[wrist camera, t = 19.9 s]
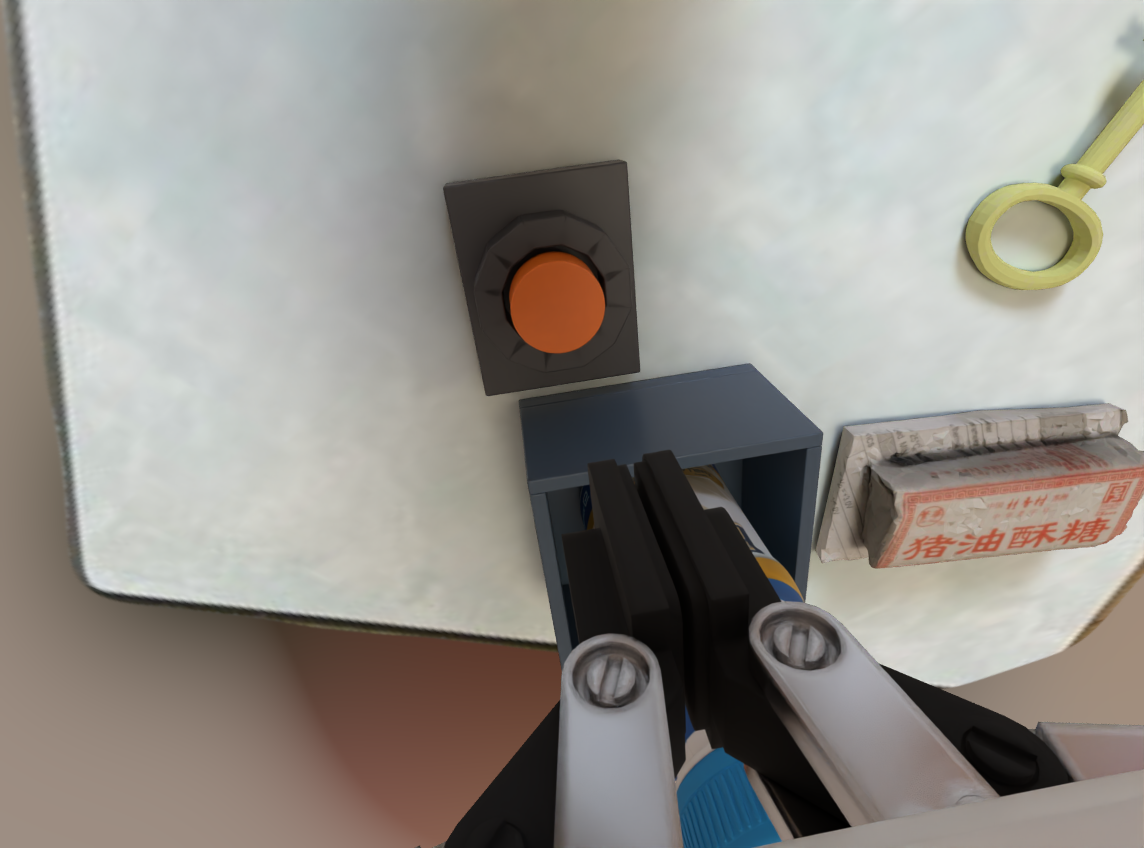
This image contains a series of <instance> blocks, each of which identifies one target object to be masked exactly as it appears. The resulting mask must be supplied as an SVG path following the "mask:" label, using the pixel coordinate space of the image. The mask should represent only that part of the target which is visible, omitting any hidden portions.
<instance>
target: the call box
mask: <svg viewBox="0 0 1144 848" xmlns="http://www.w3.org/2000/svg"><path fill="white" fill-rule="evenodd" d="M443 190H444V195H445V200H446V205H447V210H448V214H449V219H450V224H451V229H452V234H453V239H454V243H455V248H456V253H457V258H458V263H459V268H460V272H461V277H462V282H463V287H464V292H465V296H466V301H467V306H468V311H469V316H470V321H471V325H472V330H473V335H474V340H475V345H476V350H477V354H478V359H479V364H480V369H481V374H482V379H483V383H484V388H485V393H486V396H492V395H499V394H505V393H511V392H518V391H524V390H530V389H537V388H543V387H549V386H556V385H562V384H568V383H575V382H581V381H587V380H594V379H600V378H606V377H613V376H619V375H625V374H632V373H638V372H640V360H639V344H638V328H637V312H636V297H635V281H634V265H633V249H632V234H631V218H630V202H629V186H628V171H627V162H625V161H622V160H614V161H607V162H599V163H592V164H585V165H577V166H570V167H563V168H555V169H548V170H541V171H534V172H526V173H519V174H512V175H504V176H497V177H490V178H483V179H475V180H468V181H461V182H453V183H447V184H445V186H444V187H443ZM552 251H557V252H564V253H568V254H571V255H573V256H575V257H577V258H579V259H580V260H582V261H583V262H584V263H585V264H586V265H587V266H588V267H589V269H590V270H591V272H592V273H593V275H594V276H595V278H596V279H597V281H598V282H599V284H600V286H601V288H602V291H603V294H604V299H605V314H604V318H603V321H602V324H601V326H600V328H599V330H598V331H597V333H596V334H595V335H594V337H593V338H592V339H591V340H590V341H589V342H587V343H586V344H585V345H583V346H582V347H580V348H578V349H576V350H573V351H570V352H566V353H547V352H543V351H540V350H538V349H535V348H534V347H532V346H530V345H529V344H528V343H526V342H525V341H524V340H523V339H522V338H521V336H520V335H519V334H518V332H517V330H516V329H515V327H514V324H513V321H512V317H511V310H510V300H509V292H510V286H511V283H512V280H513V278H514V275H515V274H516V272H517V271H518V269H519V268H520V267H521V266H522V265H523V264H524V263H525V262H526V261H527V260H529V259H530V258H532V257H534V256H536V255H538V254H541V253H545V252H552Z"/></svg>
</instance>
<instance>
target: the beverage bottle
mask: <svg viewBox="0 0 1144 848" xmlns="http://www.w3.org/2000/svg"><path fill="white" fill-rule="evenodd" d="M682 470H683V472H684V474H685V476H686V478H687V480H688V481H689V483H690V485H691V487H692V489H693V491H694V492H695V494H696V496H697V498H698V500H699V502H700V503H701V505H702V507H703V509H704V510H705V509H711V508H717V507H723V508H725V509H726V511H727V512H728V513H729V515H730V516H731V518H732V520H733V521H734V523H735V525H736V526H737V528H738V530H739V531H740V533H741V535H742V536H743V538H744V540H745V541H746V543H747V545H748V546H749V548H750V550H751V551H752V553H753V555H754V556H755V558H756V560H757V561H758V563H759V565H760V566H761V568H762V570H763V571H764V573H765V575H766V576H767V578H768V580H769V581H770V583H771V585H772V586H773V588H774V590H775V591H776V593H777V595H778V596H779V598H780V600H781V601H782V602H784V601H792V602H802V603H804V600H803V597H802V595H801V593H800V591H799V589H798V587H797V585H796V583H795V582H794V580H793V579H792V577H791V576H790V574H789V573H788V571H787V570H786V569H785V568H784V567H783V566H782V565H781V564H780V563H779V562H778V561H777V560H776V559H775V558H773V557H772V556H771V554H770V553H769V551H768V550H767V548H766V547H765V545H764V544H763V542H762V541H761V539H760V538H759V536H758V534H757V533H756V531H755V530H754V528H753V527H752V525H751V524H750V522H749V521H748V519H747V518H746V516H745V515H744V513H743V512H742V510H741V509H740V507H739V506H738V504H737V502H736V501H735V499H734V498H733V496H732V495H731V493H730V491H729V490H728V488H727V487H726V485H725V483H724V481H723V480H722V478H721V476H720V474H719V472H718V470H717V468H716V467H715V465H714V464H710V465H704V466H698V467H692V468H686V469H682ZM632 479H633V482H634V484H635V481H634V477H632ZM580 511H581V516H582V520H583V524H584V527H585V530H589V529H595V526H594V517H593V509H592V501H591V493H590V485H585V486H582V489H581V494H580ZM685 713H686V733H685V750H686V761H685V763H684V764H683V766H682V768H681V769H680V771H679V773H678V775H677V776H676V778H675V781H676V783H675V785H676V792H677V800H678V808H679V816H680V823H681V831H682V839H683V847H684V848H754V847H758V846H763V845H768V844H773V843H778V842H782V840H781V839H780V837H779V835H778V833H777V831H776V829H775V828H774V826H773V824H772V822H771V820H770V819H769V817H768V815H767V813H766V811H765V810H764V808H763V806H762V804H761V802H760V800H759V799H758V797H757V795H756V793H755V791H754V790H753V788H752V786H751V784H750V782H749V780H748V778H747V775H746V772H745V770H744V763H742V762H740V761H739V760H737V759H735V758H733V757H732V756H730V755H728V754H727V753H725V751H724V749H723V747H722V748H717V749H711V746H710V743H709V740H708V737H707V734H706V732H705V729H704V730H699V731H695V730H694V729H693V726H692V724H691V721H690V718H689V715H688V712H687V709H686V706H685Z"/></svg>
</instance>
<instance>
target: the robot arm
mask: <svg viewBox="0 0 1144 848" xmlns="http://www.w3.org/2000/svg"><path fill="white" fill-rule="evenodd" d="M587 467H588V476H589V485H590V493H591V501H592V509H593V517H594V526H595V529H589V530H583V531H578V532H572V533H566V534H561V536H562V543H563V549H564V555H565V562H566V568H567V574H568V580H569V586H570V593H571V599H572V605H573V611H574V616H575V622H576V628H577V634H578V640H579V645H578V646H577V647H576V648H575V649H574V650H573V651H571V653H570V655H569V656H568V658H567V660H566V661H565V663H564V667H563V672H562V677H561V699H560V701H559V702H558V703H557V704H556V705H555V707H554V708H553V709H552V710H551V712H550V713H549V714H548V715H547V716H546V717H545V719H544V720H543V721H542V722H541V723H540V725H539V726H538V727H537V728H536V730H535V731H534V732H533V733H532V734H531V736H530V737H529V738H528V739H527V741H526V742H525V743H524V744H523V745H522V747H521V748H520V749H519V750H518V752H517V753H516V754H515V755H514V756H513V758H512V759H511V760H510V761H509V763H508V764H507V765H506V766H505V767H504V768H503V770H502V771H501V772H500V773H499V775H498V776H497V777H496V778H495V779H494V780H493V782H492V783H491V784H490V785H489V787H488V788H487V789H486V790H485V791H484V793H483V794H482V795H481V796H480V797H479V799H478V800H477V801H476V802H475V804H474V805H473V806H472V807H471V809H470V810H469V811H468V812H467V813H466V815H465V816H464V817H463V818H462V819H461V821H460V822H459V823H458V824H457V826H456V827H455V829H454V831H453V832H452V833H451V835H450V837H449V838H448V840H447V841H446V842H444V843H442V844H440V845H437V846H435V847H433V848H684V847H683V839H682V831H681V823H680V816H679V808H678V800H677V792H676V785H675V778H676V776H677V775H678V773H679V771H680V769H681V768H682V766H683V764H684V763H685V761H686V750H685V733H686V713H685V706H686V709H687V712H688V715H689V718H690V721H691V724H692V726H693V729H694V730H695V731H699V730H704V729H705V732H706V734H707V737H708V740H709V743H710V746H711V749H717V748H722V747H723V749H724V751H725V753H727V754H728V755H730V756H732V757H733V758H735V759H737V760H739V761H740V762H742V763H744V770H745V772H746V775H747V778H748V780H749V782H750V784H751V786H752V788H753V790H754V791H755V793H756V795H757V797H758V799H759V800H760V802H761V804H762V806H763V808H764V810H765V811H766V813H767V815H768V817H769V819H770V820H771V822H772V824H773V826H774V828H775V829H776V831H777V833H778V835H779V837H780V839H781V840H782V842H778V843H773V844H768V845H763V846H758V847H754V848H1144V726H1142V725H1112V724H1084V723H1083V724H1082V723H1055V722H1038V724H1037V727H1036V729H1027V728H1026V727H1024V726H1023V725H1021V724H1019V723H1017V722H1015V721H1013V720H1011V719H1009V718H1007V717H1006V716H1003V715H1001V714H999V713H996V712H994V711H991V710H989V709H987V708H984V707H982V706H980V705H977V704H975V703H972V702H970V701H967V700H965V699H962V698H960V697H958V696H956V695H953V694H951V693H948V692H946V691H944V690H941V689H939V688H936V687H934V686H932V685H929V684H927V683H924V682H922V681H920V680H917V679H915V678H912V677H910V676H908V675H905V674H903V673H900V672H898V671H896V670H893V669H891V668H888V667H886V666H884V665H881V664H879V663H878V662H877V661H876V660H875V659H874V658H873V657H872V656H871V655H870V654H869V653H868V652H867V650H866V649H865V648H864V647H863V646H862V645H861V644H860V643H859V642H858V641H857V639H856V638H855V637H854V636H853V635H852V634H851V633H850V632H849V631H848V630H847V629H846V627H845V626H844V625H843V624H842V623H841V622H839V621H838V620H837V619H836V618H835V617H834V616H832V615H831V614H830V613H828V612H826V611H824V610H822V609H820V608H818V607H816V606H813V605H810V604H806V603H802V602H792V601H784V602H782V601H781V600H780V598H779V596H778V595H777V593H776V591H775V590H774V588H773V586H772V585H771V583H770V581H769V580H768V578H767V576H766V575H765V573H764V571H763V570H762V568H761V566H760V565H759V563H758V561H757V560H756V558H755V556H754V555H753V553H752V551H751V550H750V548H749V546H748V545H747V543H746V541H745V540H744V538H743V536H742V535H741V533H740V531H739V530H738V528H737V526H736V525H735V523H734V521H733V520H732V518H731V516H730V515H729V513H728V512H727V511H726V509H725V508H723V507H717V508H711V509H705V510H704V509H703V507H702V505H701V503H700V502H699V500H698V498H697V496H696V494H695V492H694V491H693V489H692V487H691V485H690V483H689V481H688V480H687V478H686V476H685V474H684V472H683V470H682V469H681V467H680V465H679V463H678V461H677V459H676V458H675V456H674V454H673V452H672V451H671V450H664V451H657V452H651V453H645V454H643V456H642V461H641V462H635V463H634V481H635V484H634V482H633V479H632V477H631V474H630V472H629V469H628V467H627V465H626V464H623V465H617V463H616V461H615V459H609V460H603V461H597V462H591V463H588V464H587ZM416 848H421V847H420V846H418V847H416Z"/></svg>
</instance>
